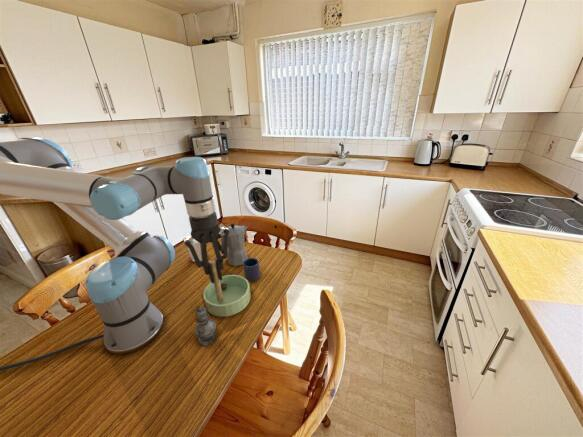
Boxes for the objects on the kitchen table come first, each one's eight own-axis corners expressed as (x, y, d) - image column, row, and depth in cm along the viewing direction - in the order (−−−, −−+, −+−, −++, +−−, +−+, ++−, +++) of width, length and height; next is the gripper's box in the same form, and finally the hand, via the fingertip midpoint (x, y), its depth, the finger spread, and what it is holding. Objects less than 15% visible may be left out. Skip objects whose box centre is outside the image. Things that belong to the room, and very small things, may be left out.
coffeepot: (246, 250, 112) (241, 215, 104) (256, 259, 105) (252, 222, 97) (214, 263, 103) (207, 226, 95) (223, 274, 96) (216, 235, 89)
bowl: (212, 325, 74) (209, 313, 71) (201, 295, 85) (198, 284, 83) (257, 304, 81) (256, 293, 78) (241, 280, 92) (240, 269, 90)
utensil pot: (248, 284, 90) (246, 269, 87) (242, 275, 95) (240, 261, 92) (262, 278, 93) (261, 263, 90) (256, 270, 98) (254, 256, 95)
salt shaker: (211, 347, 67) (203, 316, 62) (193, 344, 68) (183, 313, 63) (221, 330, 72) (214, 299, 67) (203, 327, 73) (195, 297, 68)
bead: (220, 288, 85) (218, 283, 86) (221, 292, 86) (219, 287, 88) (227, 286, 86) (225, 281, 87) (227, 290, 87) (225, 285, 89)
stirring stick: (218, 303, 80) (210, 264, 73) (216, 299, 82) (208, 260, 75) (224, 300, 81) (216, 261, 74) (222, 297, 82) (214, 258, 76)
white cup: (212, 256, 108) (208, 237, 104) (197, 265, 102) (192, 245, 98) (200, 251, 112) (196, 232, 108) (186, 260, 106) (181, 240, 102)
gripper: (175, 225, 61) (194, 295, 71) (232, 211, 68) (242, 277, 78) (171, 215, 67) (189, 281, 77) (224, 203, 74) (234, 265, 84)
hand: (216, 279), depth 77 cm, fingers closed on stirring stick, 2 cm apart
